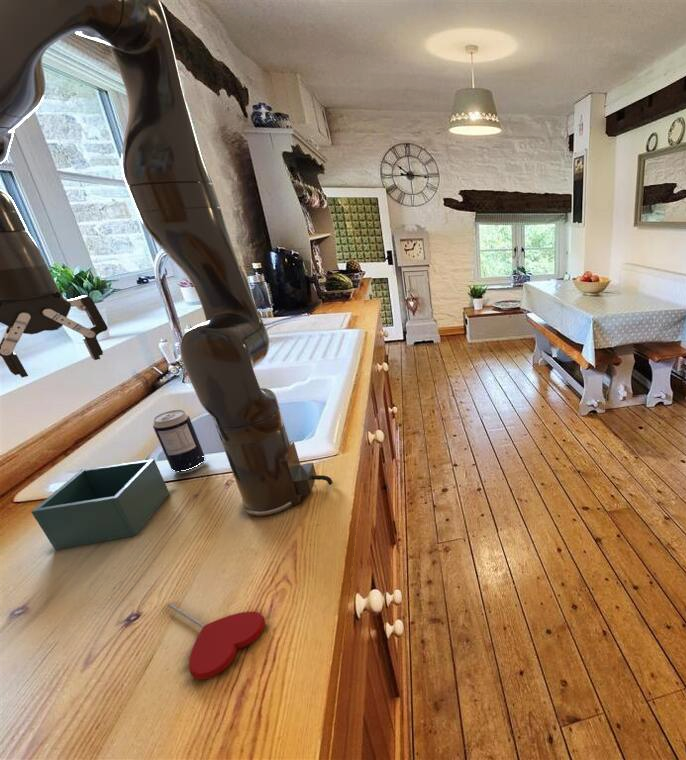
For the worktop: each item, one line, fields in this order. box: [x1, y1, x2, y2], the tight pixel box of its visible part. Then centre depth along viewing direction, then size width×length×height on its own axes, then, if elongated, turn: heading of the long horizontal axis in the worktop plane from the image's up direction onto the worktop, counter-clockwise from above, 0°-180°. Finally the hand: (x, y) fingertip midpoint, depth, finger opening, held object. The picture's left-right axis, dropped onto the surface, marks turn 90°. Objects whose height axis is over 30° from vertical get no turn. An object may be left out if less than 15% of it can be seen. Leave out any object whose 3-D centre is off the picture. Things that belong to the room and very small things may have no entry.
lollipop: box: [166, 602, 266, 680], centre depth 51 cm, size 8×1×15 cm
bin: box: [30, 458, 170, 551], centre depth 69 cm, size 11×11×8 cm
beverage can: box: [152, 409, 206, 474], centre depth 81 cm, size 6×6×12 cm
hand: (62, 367), depth 67 cm, fingers open, 8 cm apart
